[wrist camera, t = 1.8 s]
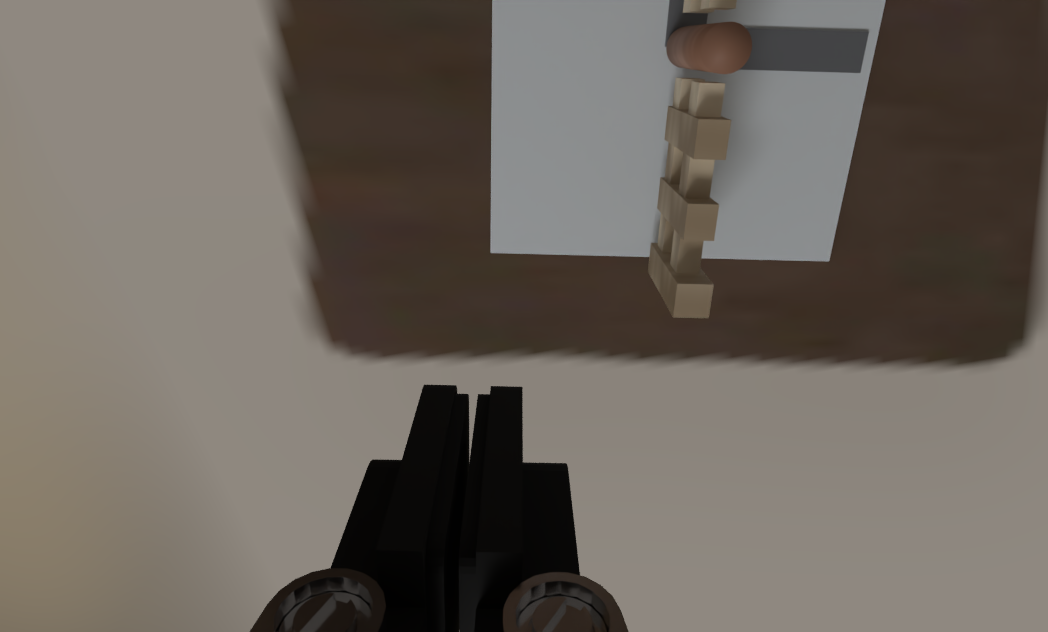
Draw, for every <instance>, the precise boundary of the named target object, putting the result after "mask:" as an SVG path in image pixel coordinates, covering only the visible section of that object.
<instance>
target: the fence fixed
mask: <svg viewBox="0 0 1048 632" xmlns="http://www.w3.org/2000/svg"><path fill="white" fill-rule="evenodd" d="M736 2H737V0H684V6H683V13H711V12H714V10H729V9H735V8H736Z"/></svg>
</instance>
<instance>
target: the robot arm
mask: <svg viewBox="0 0 1048 632" xmlns="http://www.w3.org/2000/svg"><path fill="white" fill-rule="evenodd" d="M522 443H523V441H522V387H503V386H501V387H500V386H491V391H490V395H488V394H486V395H484V394H478V400H477V408H476V415H475V424H474V431H473V439H472V448H471V455H470V463H469V395H468V394H457V387H456V386H454V385H424V387H423V389H422V393H421V396H420V400H419V403H418V406H417V410H416V413H415V417H414V420H413V424H412V427H411V431H410V434H409V437H408V441H407V444H406V448H405V451H404V455H403V458H402V460H372V461H370V463H369V466H368V468H367V470H366V473H365V476H364V479H363V481H362V484H361V487H360V489H359V492H358V495H357V498H356V501H355V503H354V506H353V509H352V511H351V514H350V517H349V520H348V522H347V525H346V528H345V530H344V533H343V536H342V539H341V542H340V544H339V547H338V550H337V552H336V555H335V558H334V560H333V563H332V566H331V568H329V569H325V570H320V571H315V572H311V573H309V574H307V575H304V576H302V577H300V578H298V579H295V580H294V581H292V582H291V583H289V584H288V585H287V586H285V587H284V588H282V589H281V590H280V591H279V592H278V593H277V594H276V595H275V596H274V597H273V599H272V600H271V601H270V602H269V603H268V604H267V606H266V607H265V609H264V610H263V612H262V614H261V615H260V616H259V618H258V620H257V621H256V623H255V624H254V626H253V628H252V629H251V630H250V632H459V630H460V632H628V629H627V626H626V624H625V621H624V618H623V615H622V613H621V610H620V608H619V607H618V605H617V603H616V602H615V600H614V598H613V596H612V595H611V594H610V593H608V592H607V591H606V590H605V589H604V588H603V587H602V586H601V585H599V584H598V583H596V582H594V581H592V580H590V579H588V578H586V577H584V576H580V572H579V563H578V554H577V545H576V536H575V527H574V519H573V510H572V501H571V491H570V483H569V474H568V467H567V464H566V463H523V462H522V461H523V457H522V456H523V455H522V454H523V453H522V450H523V448H522V447H523V444H522Z"/></svg>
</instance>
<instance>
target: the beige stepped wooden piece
mask: <svg viewBox="0 0 1048 632" xmlns="http://www.w3.org/2000/svg"><path fill="white" fill-rule="evenodd" d="M751 50H752V39H751V36H750V33H749V32H748V30H747V29H746V28H745V27H744V26H743V25H741V24H739V23H737V22H721V23H712V24H702V25H693V26H685V27H681V28H679V29H677V30H676V31H674V32H673V33H672V34H671V36H670V37H669V39H668V42H667V46H666V52H667V56H668V59H669V60H670V62H671V63H672V64H673V65H675V66H676V67H679V68H685V69H691V70H698V71H705V72H711V73H718V74H731V73H734V72H736V71H738V70H739V69H740V68H742V67H743V66H744V65H745V63H746V62H747V61H748V59H749V57H750V54H751ZM724 90H725V83H720V82H708V81H705V79H700V78H676V79H675V88H674V97H673V106H668V111H667V120H666V129H665V139H664V140H666V141H667V142H669V143H668V152H667V161H666V170H665V177H660V186H659V195H658V204H657V209H658V210H659V211H660V212H661V216H660V225H659V234H658V243H651V246H650V256H649V266H648V273H649V274H650V276H651V278H652V280H653V282H654V283H655V285H656V287H657V289H658V291H659V293H660V294H661V296H662V298H663V300H664V302H665V303H666V305H667V307H668V309H669V311H670V313H671V314H672V316H673V317H680V318H709V312H710V306H711V299H712V292H713V283H712V282H711V281H710V280H709V278H708V277H707V276H706V274H705V273H704V272H703V271H702V269H701V268H700V264H701V257H702V250H703V242H704V241H714V238H715V231H716V224H717V217H718V210H719V204H718V203H717V202H715V201H714V200H713V199H712V198H710V192H711V184H712V177H713V170H714V162H715V160H726V154H727V147H728V140H729V133H730V126H731V120H730V119H727V118H725V117H722V116H721V111H722V104H723V97H724Z"/></svg>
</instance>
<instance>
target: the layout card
mask: <svg viewBox="0 0 1048 632" xmlns="http://www.w3.org/2000/svg"><path fill="white" fill-rule="evenodd" d="M885 1H886V0H737V2H736V8H735V9H729V10H714V12H711V13H683V6H684V0H492V123H491V253H515V254H555V255H595V256H635V257H649V256H650V246H651V243H658V234H659V225H660V216H661V212H660V211H659V210H658V209H657V204H658V195H659V186H660V177H665V170H666V161H667V152H668V143H669V142H667V141H666V140H664V139H665V129H666V120H667V111H668V106H673V97H674V88H675V79H676V78H700V79H705V81H708V82H720V83H725V90H724V97H723V104H722V111H721V116H722V117H725V118H727V119H730V120H731V126H730V133H729V140H728V147H727V154H726V160H715V162H714V170H713V177H712V184H711V192H710V198H712V199H713V200H714V201H715V202H717V203H718V204H719V210H718V217H717V224H716V231H715V238H714V241H704V242H703V250H702V257H701V258H715V259H755V260H795V261H829V259H830V255H831V250H832V245H833V241H834V236H835V232H836V227H837V222H838V218H839V213H840V209H841V204H842V199H843V195H844V190H845V185H846V181H847V176H848V172H849V167H850V162H851V158H852V153H853V149H854V144H855V139H856V135H857V130H858V125H859V121H860V116H861V112H862V107H863V102H864V98H865V93H866V89H867V84H868V79H869V75H870V70H871V65H872V61H873V56H874V52H875V47H876V42H877V38H878V33H879V29H880V24H881V19H882V15H883V10H884V5H885ZM721 22H737V23H739V24H741V25H743V26H744V27H745V28H746V29H747V30H748V32H749V33H750V36H751V39H752V50H751V54H750V57H749V59H748V61H747V62H746V63H745V65H744V66H743V67H742V68H740V69H739V70H738V71H736V72H734V73H731V74H718V73H711V72H705V71H698V70H691V69H685V68H679V67H676V66H675V65H673V64H672V63H671V62H670V60H669V59H668V56H667V52H666V46H667V42H668V39H669V37H670V36H671V34H672V33H673V32H674V31H676V30H677V29H679V28H681V27H685V26H693V25H702V24H712V23H721Z"/></svg>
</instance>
